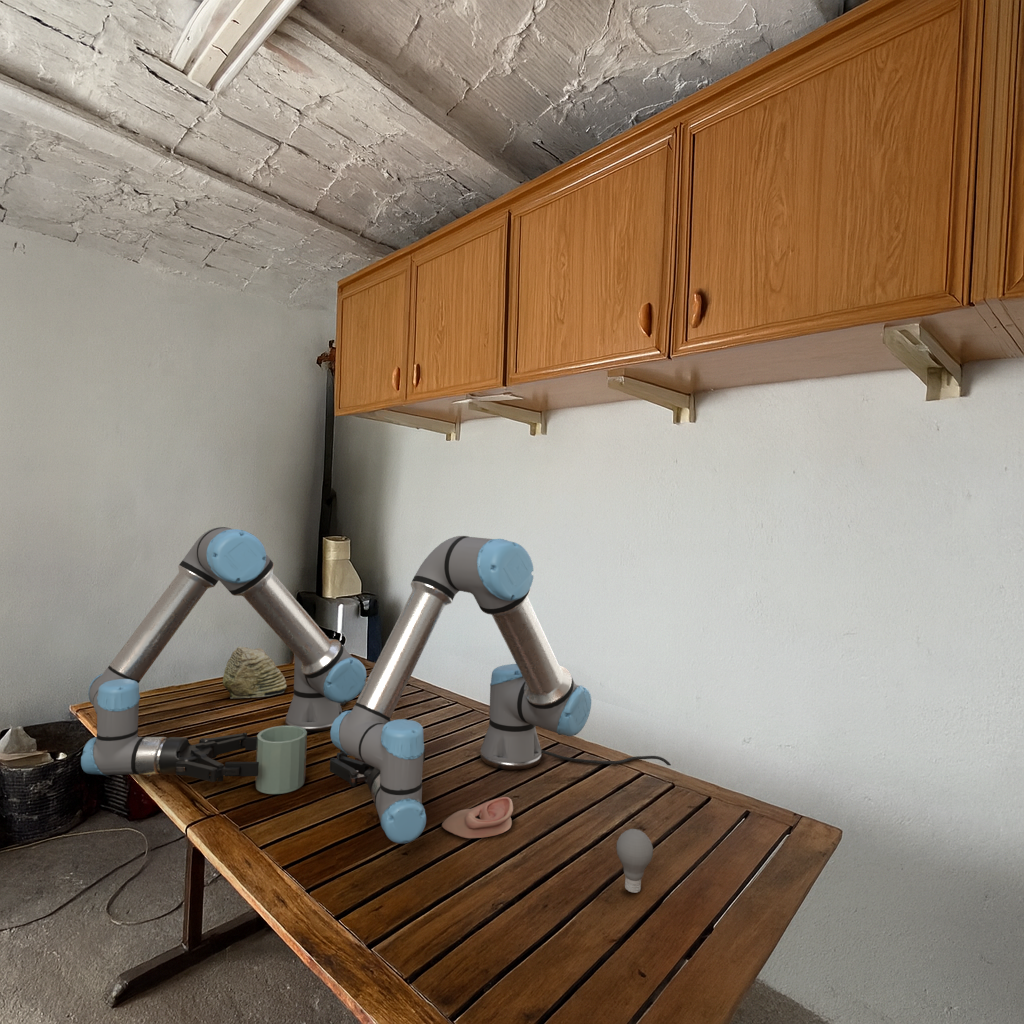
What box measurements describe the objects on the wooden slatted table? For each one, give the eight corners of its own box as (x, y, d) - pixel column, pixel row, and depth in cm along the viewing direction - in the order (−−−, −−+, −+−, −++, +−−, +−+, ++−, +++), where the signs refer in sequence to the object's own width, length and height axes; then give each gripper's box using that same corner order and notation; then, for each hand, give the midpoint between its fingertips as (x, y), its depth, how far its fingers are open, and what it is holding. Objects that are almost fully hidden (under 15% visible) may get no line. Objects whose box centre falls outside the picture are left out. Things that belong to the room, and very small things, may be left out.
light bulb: (610, 879, 108) (613, 822, 108) (644, 879, 109) (647, 822, 109) (619, 902, 102) (622, 840, 102) (655, 901, 103) (658, 840, 103)
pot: (288, 769, 146) (290, 722, 146) (314, 783, 140) (315, 733, 140) (246, 783, 138) (248, 733, 138) (271, 798, 132) (273, 746, 132)
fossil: (218, 695, 195) (220, 647, 195) (278, 685, 208) (279, 640, 207) (228, 703, 189) (230, 653, 188) (289, 692, 201) (290, 645, 201)
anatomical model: (437, 813, 121) (454, 787, 132) (436, 833, 121) (454, 805, 132) (505, 823, 118) (517, 795, 129) (504, 844, 118) (516, 815, 129)
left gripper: (187, 750, 148) (281, 750, 151) (136, 800, 124) (249, 799, 126) (188, 718, 148) (282, 718, 150) (137, 762, 123) (250, 762, 126)
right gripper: (323, 815, 119) (314, 768, 139) (451, 797, 128) (426, 756, 148) (324, 775, 119) (316, 734, 139) (452, 761, 128) (427, 724, 148)
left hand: (267, 755), depth 138 cm, fingers open, 13 cm apart
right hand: (372, 746), depth 143 cm, fingers open, 13 cm apart
